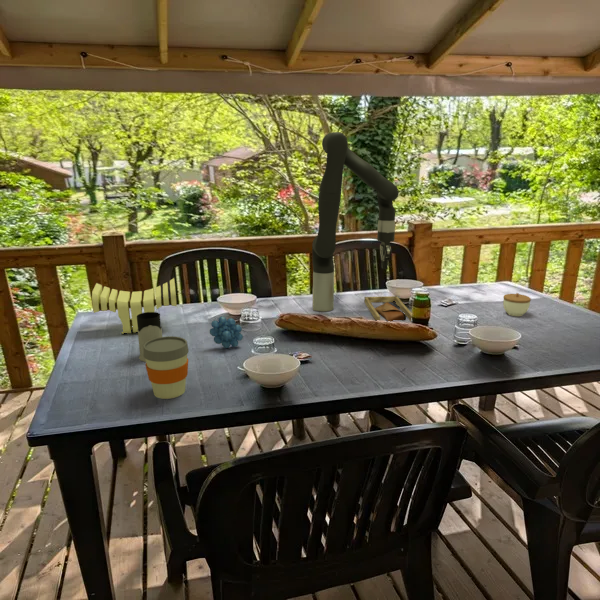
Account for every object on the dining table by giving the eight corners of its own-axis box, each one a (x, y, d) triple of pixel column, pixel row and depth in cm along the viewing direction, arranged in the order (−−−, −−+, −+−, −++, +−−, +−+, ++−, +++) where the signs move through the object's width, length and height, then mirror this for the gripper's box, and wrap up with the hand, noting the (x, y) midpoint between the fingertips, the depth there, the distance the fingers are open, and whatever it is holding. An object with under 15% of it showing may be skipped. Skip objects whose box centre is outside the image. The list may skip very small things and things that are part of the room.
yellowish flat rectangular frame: (377, 322, 203) (377, 316, 202) (364, 301, 231) (364, 296, 230) (413, 321, 203) (414, 315, 203) (396, 301, 231) (397, 296, 231)
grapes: (210, 353, 171) (208, 321, 168) (210, 346, 178) (208, 315, 174) (244, 351, 173) (242, 319, 170) (242, 344, 180) (241, 313, 176)
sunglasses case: (370, 309, 220) (378, 296, 219) (382, 315, 222) (390, 302, 221) (387, 322, 203) (396, 308, 202) (400, 328, 206) (409, 315, 205)
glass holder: (140, 363, 164) (135, 321, 159) (136, 348, 176) (132, 308, 172) (167, 359, 167) (163, 317, 162) (161, 345, 179) (158, 305, 175)
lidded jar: (502, 316, 209) (504, 295, 207) (500, 309, 219) (503, 289, 216) (529, 319, 206) (532, 297, 203) (527, 311, 216) (529, 291, 213)
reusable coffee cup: (184, 378, 152) (181, 333, 148) (196, 395, 142) (193, 347, 138) (143, 387, 147) (138, 340, 142) (152, 405, 136) (147, 355, 132)
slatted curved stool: (97, 338, 186) (91, 293, 180) (101, 325, 200) (96, 283, 195) (178, 331, 193) (175, 287, 188) (177, 318, 208) (174, 278, 203)
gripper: (374, 228, 223) (373, 265, 228) (381, 232, 210) (379, 272, 215) (391, 227, 223) (389, 265, 228) (398, 232, 210) (396, 272, 215)
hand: (384, 268), depth 222 cm, fingers closed
